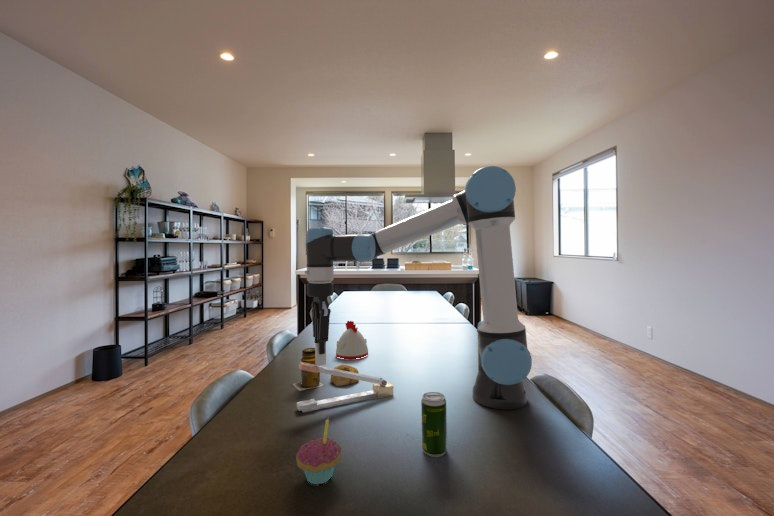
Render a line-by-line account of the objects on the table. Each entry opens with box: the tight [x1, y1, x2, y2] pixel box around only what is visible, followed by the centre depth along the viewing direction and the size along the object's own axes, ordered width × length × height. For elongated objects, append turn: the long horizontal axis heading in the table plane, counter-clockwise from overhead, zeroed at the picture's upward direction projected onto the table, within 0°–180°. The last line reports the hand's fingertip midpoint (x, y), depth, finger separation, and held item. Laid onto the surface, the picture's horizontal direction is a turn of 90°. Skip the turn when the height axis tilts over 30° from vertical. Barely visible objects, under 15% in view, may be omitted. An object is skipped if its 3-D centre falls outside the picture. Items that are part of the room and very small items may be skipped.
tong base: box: [296, 381, 394, 413], centre depth 104 cm, size 4×28×3 cm, turn 115°
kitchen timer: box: [335, 320, 369, 359], centre depth 153 cm, size 14×14×15 cm
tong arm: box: [298, 361, 388, 386], centre depth 104 cm, size 3×27×2 cm, turn 115°
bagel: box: [330, 364, 360, 387], centre depth 122 cm, size 10×11×5 cm
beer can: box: [420, 391, 448, 458], centre depth 77 cm, size 5×5×12 cm
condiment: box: [292, 347, 325, 392], centre depth 118 cm, size 7×8×12 cm
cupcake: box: [295, 415, 342, 484], centre depth 68 cm, size 9×8×12 cm
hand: (320, 364), depth 101 cm, fingers closed
